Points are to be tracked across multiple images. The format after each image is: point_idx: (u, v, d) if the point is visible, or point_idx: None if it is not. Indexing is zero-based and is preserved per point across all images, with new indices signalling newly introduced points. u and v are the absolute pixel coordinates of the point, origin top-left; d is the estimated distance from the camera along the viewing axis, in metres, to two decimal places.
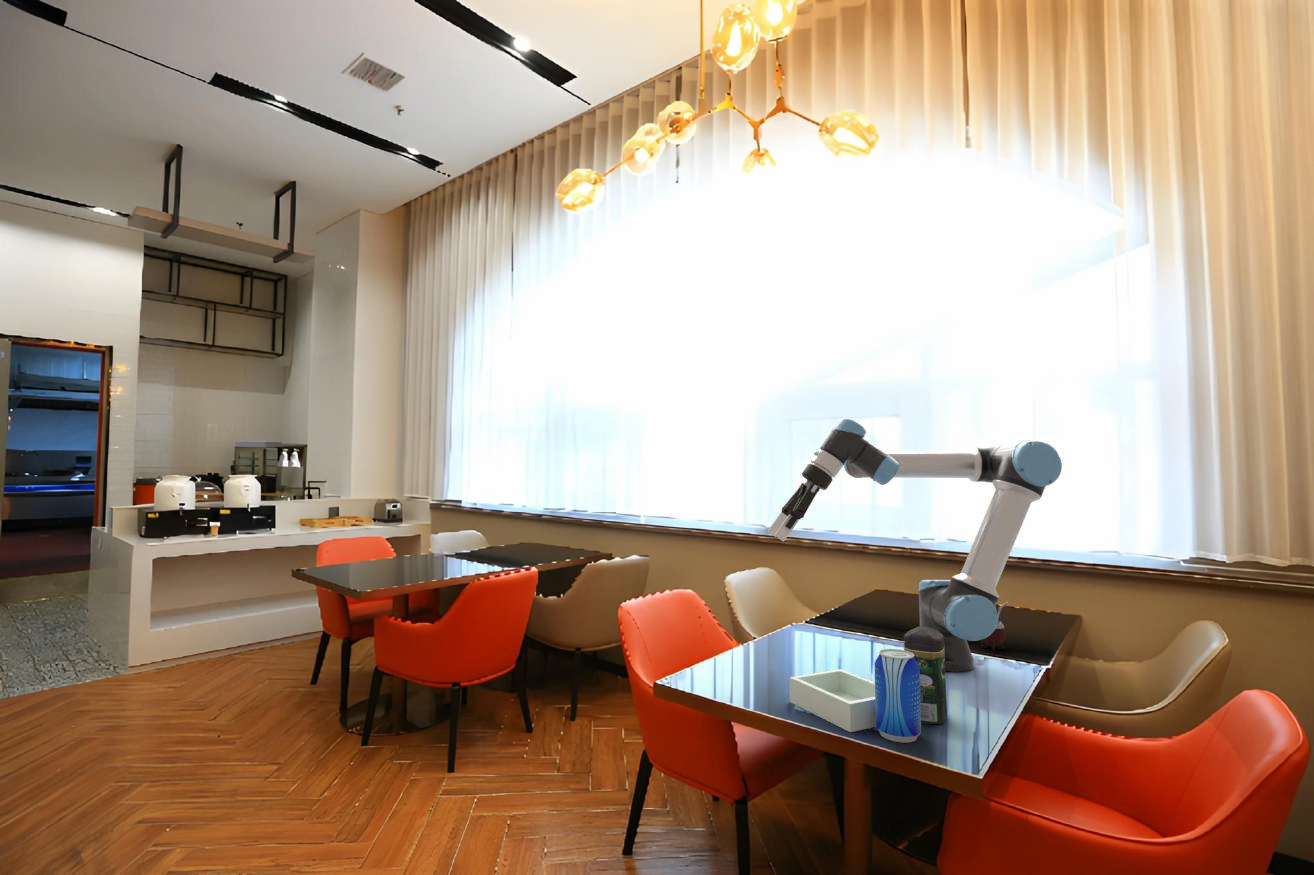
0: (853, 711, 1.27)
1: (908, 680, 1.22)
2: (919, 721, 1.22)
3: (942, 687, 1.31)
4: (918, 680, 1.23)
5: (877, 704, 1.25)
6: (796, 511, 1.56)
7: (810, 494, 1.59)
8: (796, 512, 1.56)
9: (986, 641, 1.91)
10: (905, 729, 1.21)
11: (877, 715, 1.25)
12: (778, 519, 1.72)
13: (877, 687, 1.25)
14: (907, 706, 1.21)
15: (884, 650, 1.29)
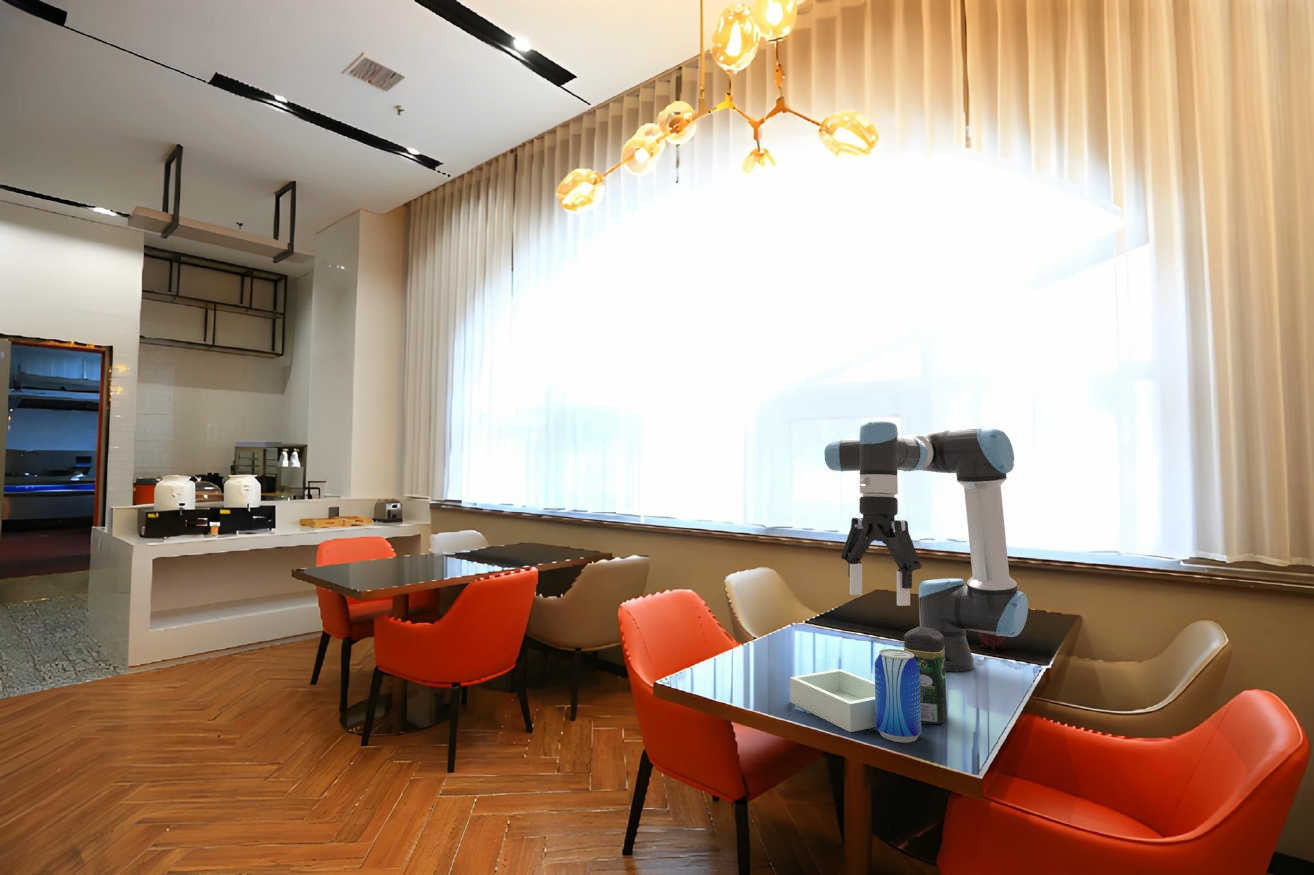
0: (853, 711, 1.27)
1: (908, 680, 1.22)
2: (919, 721, 1.22)
3: (942, 687, 1.31)
4: (918, 680, 1.23)
5: (877, 704, 1.25)
6: (912, 566, 1.20)
7: (905, 535, 1.24)
8: (913, 567, 1.21)
9: (986, 641, 1.91)
10: (905, 729, 1.21)
11: (877, 715, 1.25)
12: (853, 574, 1.35)
13: (877, 687, 1.25)
14: (907, 706, 1.21)
15: (884, 650, 1.29)
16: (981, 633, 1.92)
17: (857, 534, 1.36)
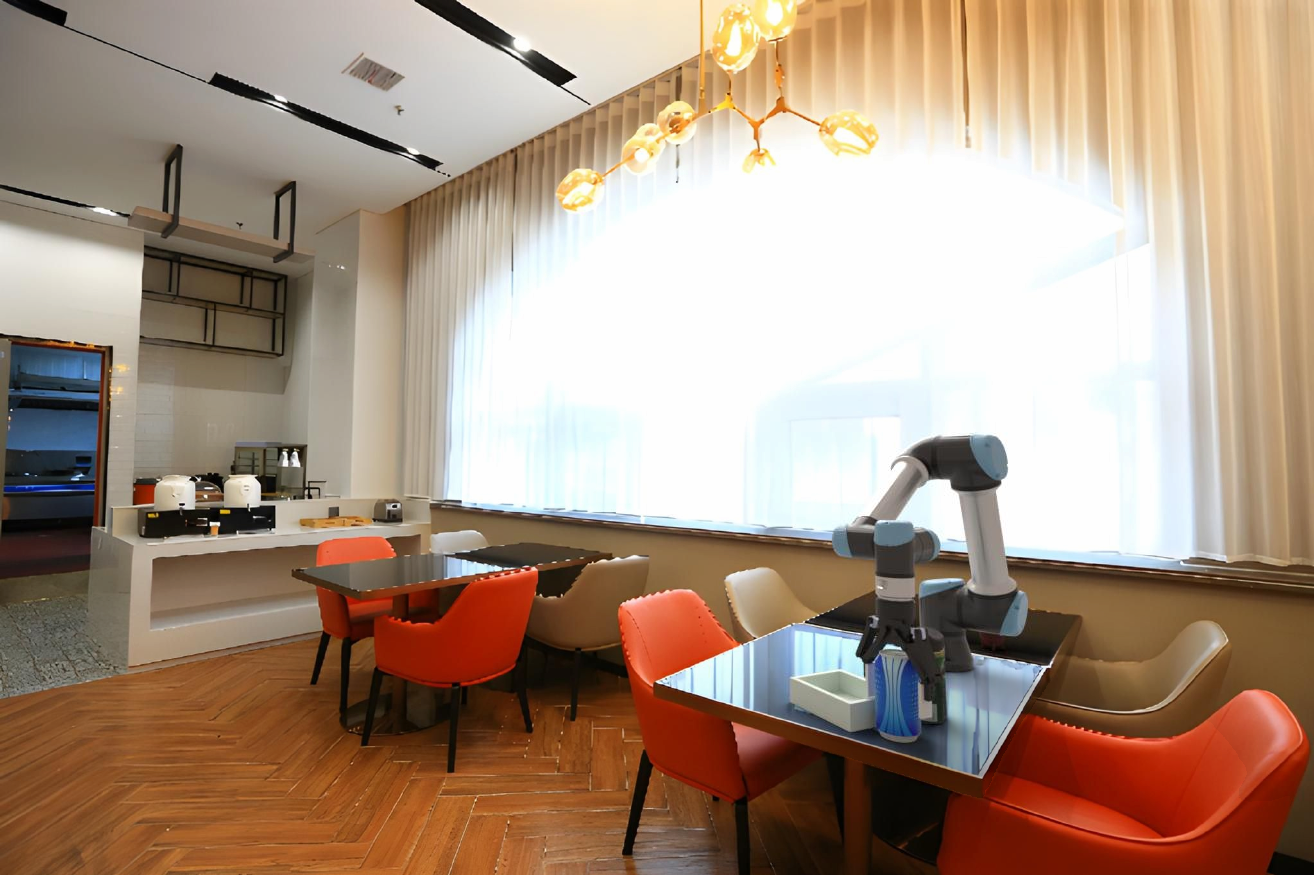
0: (853, 711, 1.27)
1: (908, 680, 1.22)
2: (919, 721, 1.22)
3: (942, 687, 1.31)
4: (918, 680, 1.23)
5: (877, 704, 1.25)
6: (935, 680, 1.16)
7: (925, 644, 1.20)
8: (936, 681, 1.16)
9: (986, 641, 1.91)
10: (905, 729, 1.21)
11: (877, 715, 1.25)
12: (869, 675, 1.31)
13: (877, 687, 1.25)
14: (907, 706, 1.21)
15: (884, 650, 1.29)
16: (981, 633, 1.91)
17: (872, 633, 1.32)
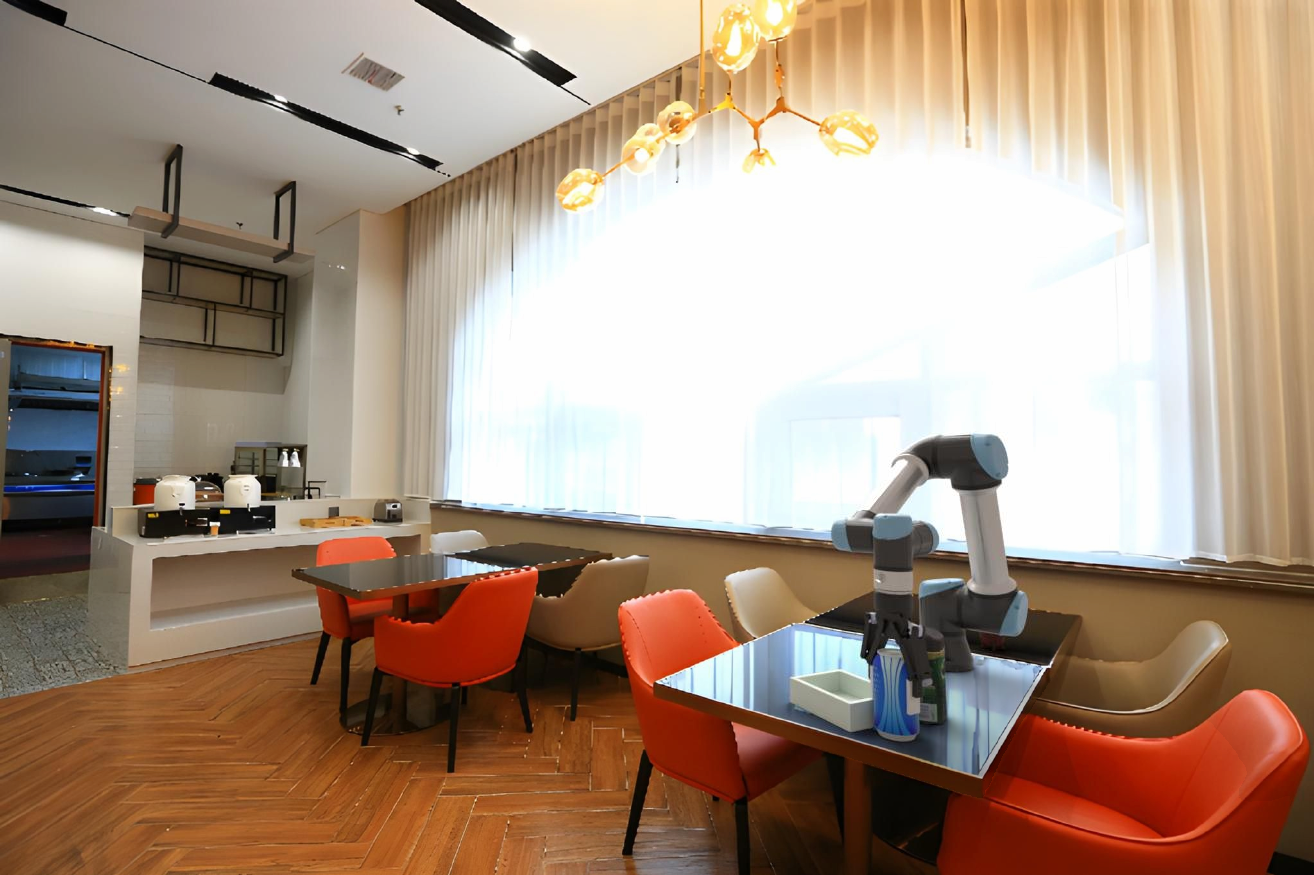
0: (853, 711, 1.27)
1: None
2: (917, 720, 1.23)
3: (942, 687, 1.31)
4: None
5: (875, 703, 1.25)
6: (923, 677, 1.19)
7: (920, 642, 1.21)
8: (924, 678, 1.19)
9: (986, 641, 1.91)
10: (904, 728, 1.21)
11: (875, 714, 1.25)
12: None
13: (875, 686, 1.25)
14: (906, 705, 1.22)
15: (882, 649, 1.29)
16: (981, 633, 1.92)
17: (873, 630, 1.32)
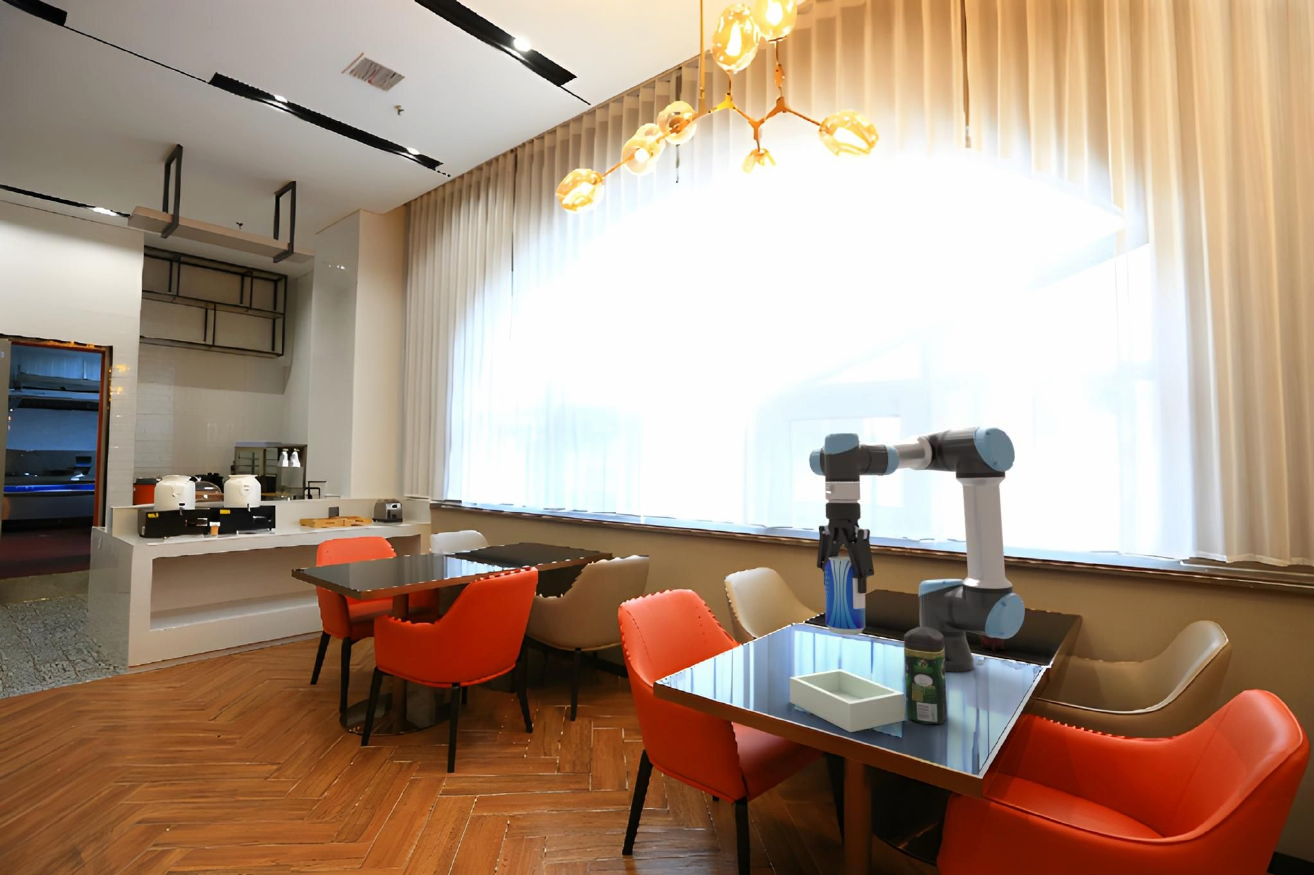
0: (853, 711, 1.27)
1: None
2: (863, 616, 1.37)
3: (942, 687, 1.31)
4: None
5: (826, 603, 1.39)
6: (866, 573, 1.33)
7: (865, 543, 1.35)
8: (867, 574, 1.33)
9: (986, 641, 1.91)
10: (851, 622, 1.35)
11: (826, 613, 1.39)
12: None
13: (826, 588, 1.39)
14: (852, 602, 1.36)
15: (833, 557, 1.43)
16: None
17: (826, 540, 1.46)
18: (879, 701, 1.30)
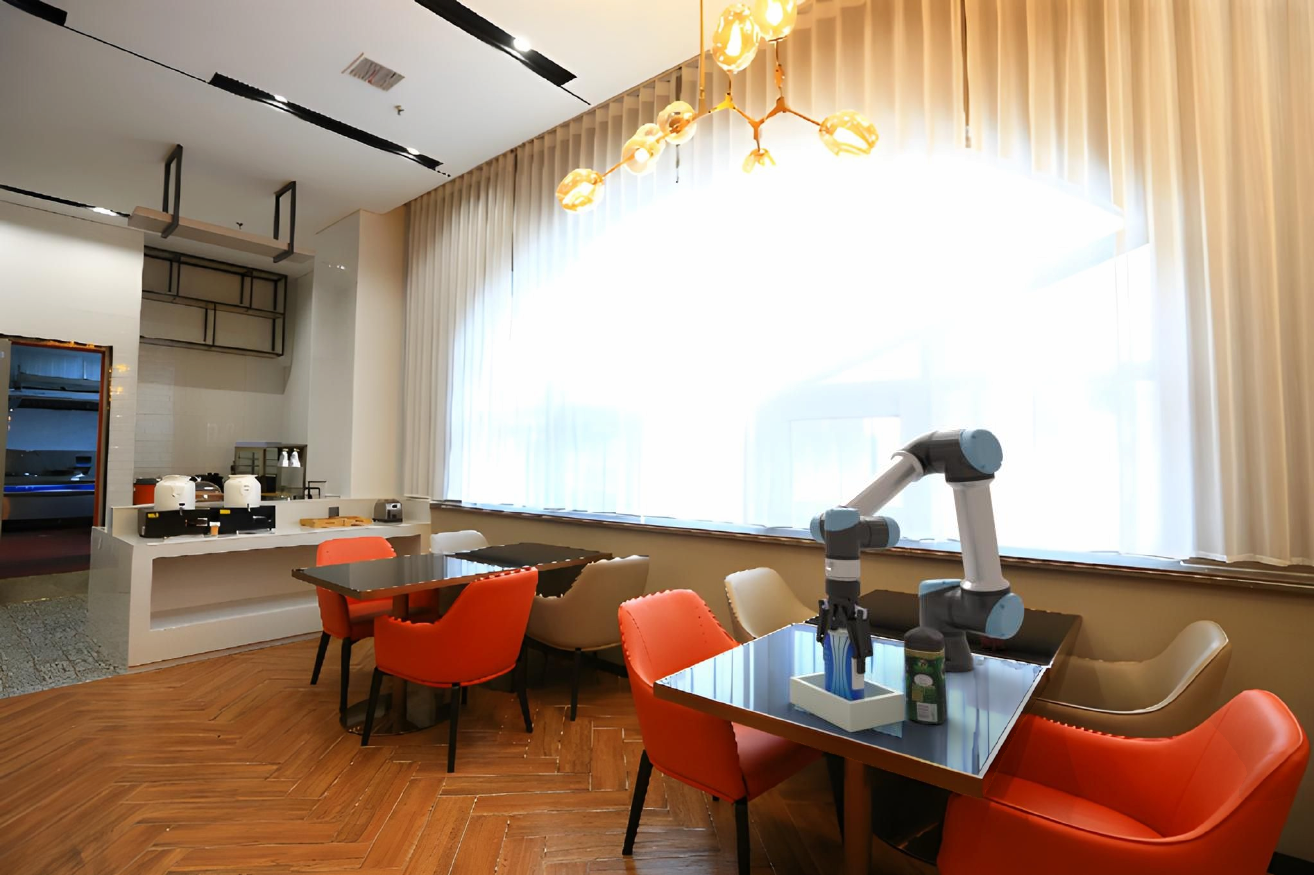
0: (853, 711, 1.27)
1: None
2: (862, 692, 1.36)
3: (942, 687, 1.31)
4: None
5: (825, 677, 1.39)
6: (865, 655, 1.32)
7: (864, 623, 1.34)
8: (866, 655, 1.32)
9: (986, 641, 1.91)
10: (850, 699, 1.35)
11: (826, 687, 1.39)
12: None
13: (826, 662, 1.39)
14: None
15: None
16: None
17: (826, 615, 1.45)
18: (879, 701, 1.30)
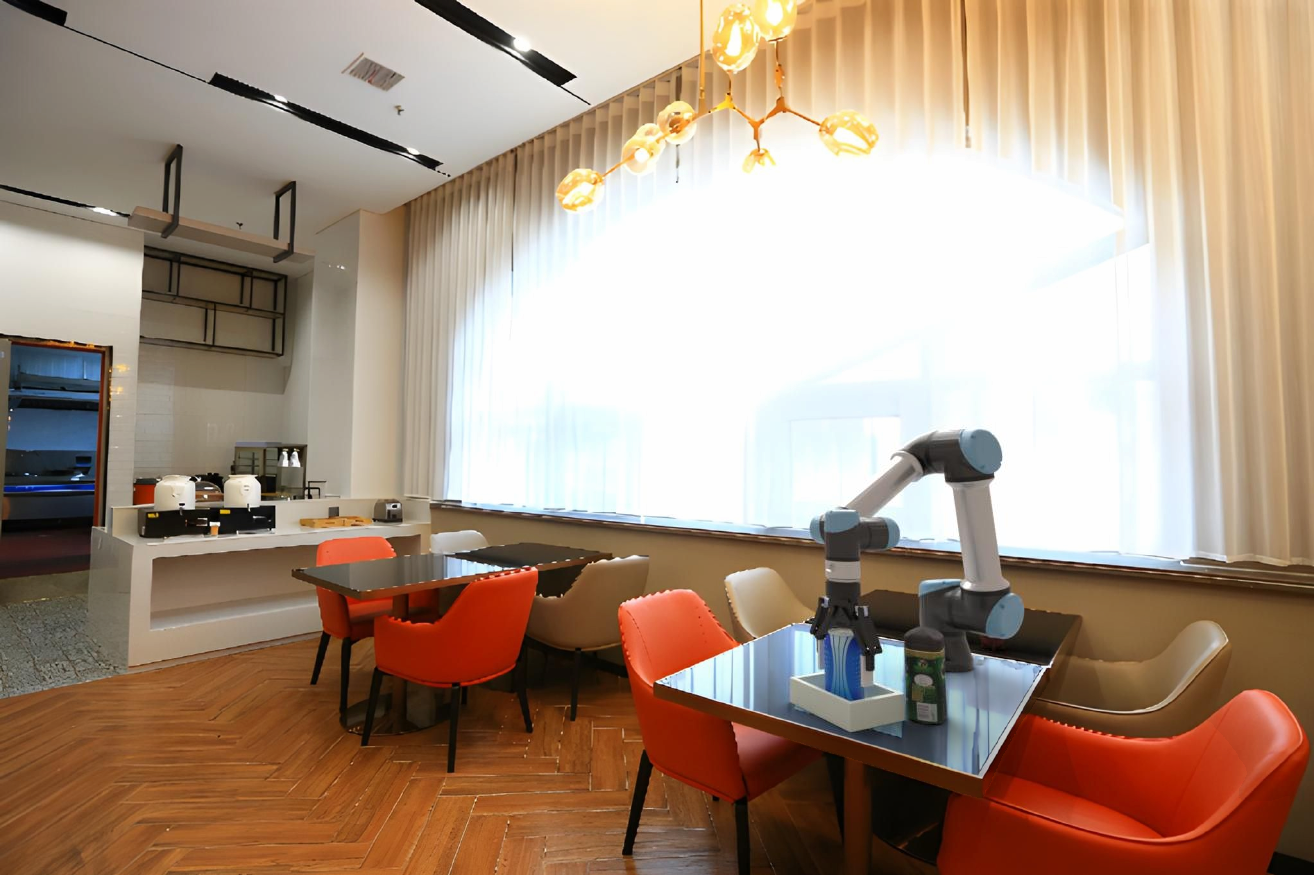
0: (853, 711, 1.27)
1: (853, 655, 1.35)
2: (862, 692, 1.36)
3: (942, 687, 1.31)
4: None
5: (825, 677, 1.39)
6: (874, 652, 1.30)
7: (867, 620, 1.33)
8: (875, 652, 1.30)
9: (986, 641, 1.91)
10: (850, 699, 1.35)
11: (826, 687, 1.39)
12: (821, 650, 1.45)
13: (826, 662, 1.39)
14: (852, 679, 1.35)
15: (833, 629, 1.42)
16: None
17: (824, 612, 1.46)
18: (879, 701, 1.30)
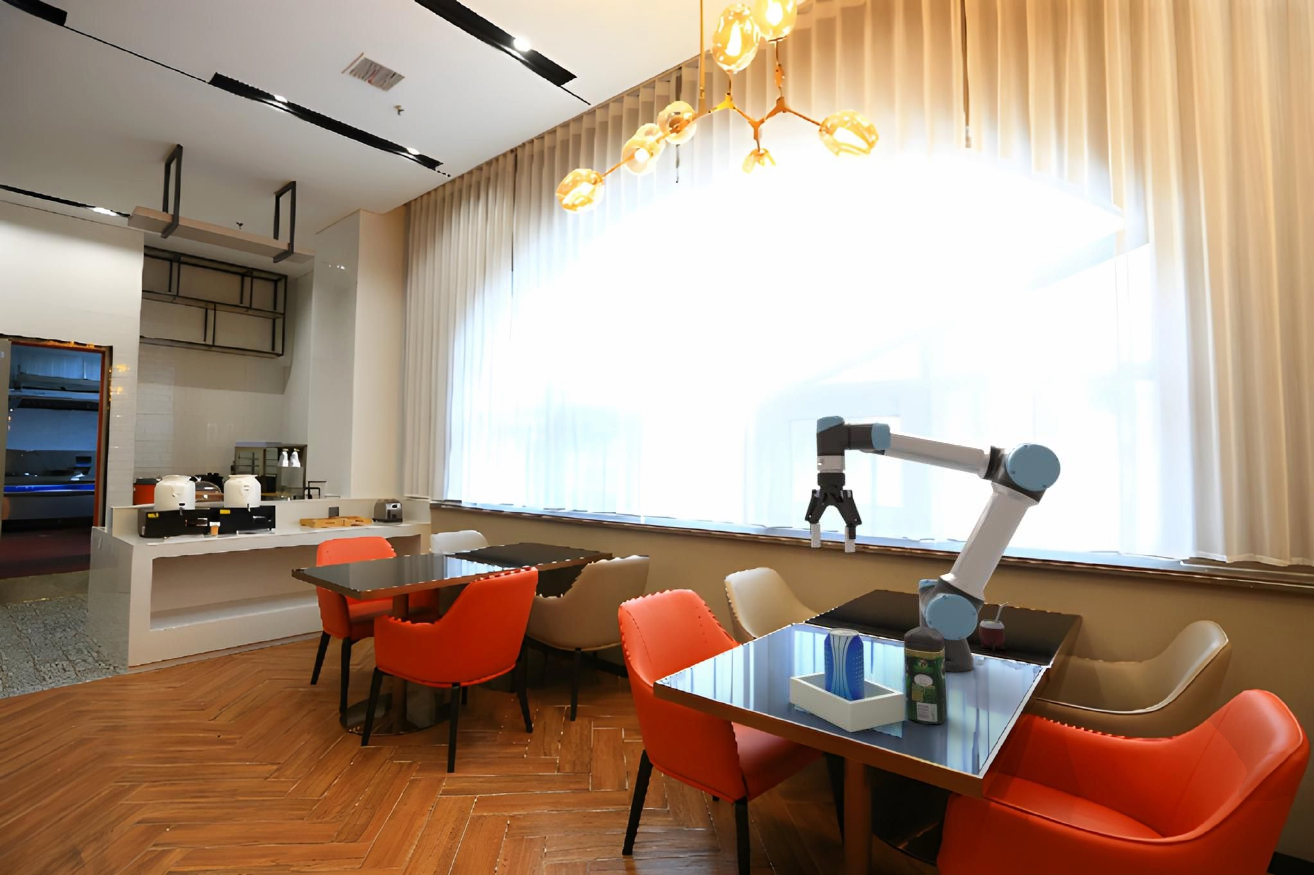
0: (853, 711, 1.27)
1: (853, 656, 1.35)
2: (862, 692, 1.36)
3: (942, 687, 1.31)
4: (862, 655, 1.37)
5: (825, 677, 1.39)
6: (855, 522, 1.64)
7: (850, 500, 1.67)
8: (856, 523, 1.64)
9: (986, 641, 1.91)
10: (850, 699, 1.35)
11: (826, 687, 1.39)
12: (814, 531, 1.78)
13: (826, 662, 1.39)
14: (852, 679, 1.35)
15: (833, 629, 1.42)
16: (981, 633, 1.92)
17: (816, 501, 1.79)
18: (879, 701, 1.30)
